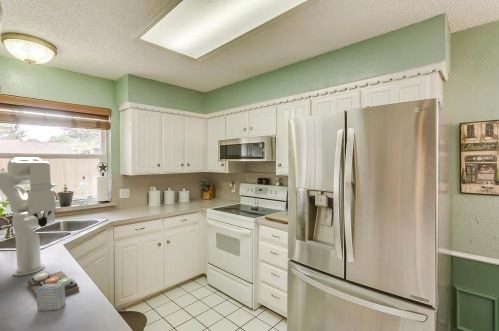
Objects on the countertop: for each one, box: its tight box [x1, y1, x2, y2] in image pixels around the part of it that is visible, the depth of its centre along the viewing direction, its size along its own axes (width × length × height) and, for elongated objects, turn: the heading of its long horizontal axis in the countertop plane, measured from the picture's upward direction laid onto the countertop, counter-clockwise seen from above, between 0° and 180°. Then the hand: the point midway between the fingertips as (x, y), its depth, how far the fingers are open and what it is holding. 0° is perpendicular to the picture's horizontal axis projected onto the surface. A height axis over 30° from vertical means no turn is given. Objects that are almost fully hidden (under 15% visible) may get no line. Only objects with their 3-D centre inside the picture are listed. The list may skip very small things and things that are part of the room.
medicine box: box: [36, 283, 66, 312], centre depth 99 cm, size 8×4×9 cm, turn 92°
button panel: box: [27, 271, 80, 298], centre depth 115 cm, size 26×13×3 cm, turn 50°
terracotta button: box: [45, 277, 59, 284], centre depth 115 cm, size 5×5×2 cm
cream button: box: [33, 272, 49, 282], centre depth 118 cm, size 5×5×2 cm
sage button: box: [57, 277, 72, 287], centre depth 112 cm, size 5×5×2 cm
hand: (42, 226), depth 120 cm, fingers closed
